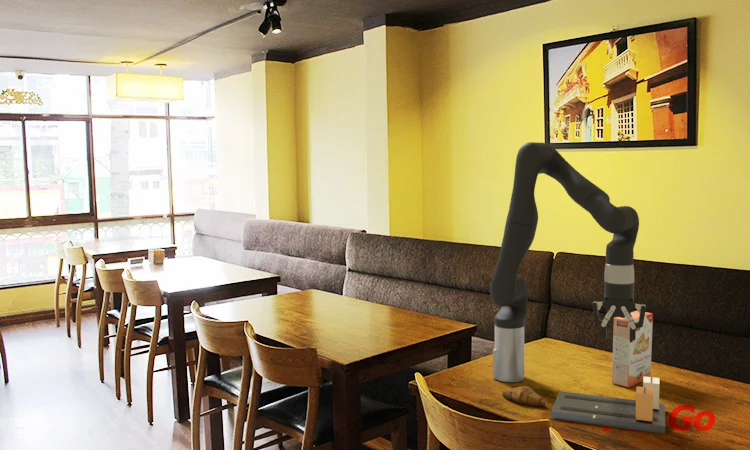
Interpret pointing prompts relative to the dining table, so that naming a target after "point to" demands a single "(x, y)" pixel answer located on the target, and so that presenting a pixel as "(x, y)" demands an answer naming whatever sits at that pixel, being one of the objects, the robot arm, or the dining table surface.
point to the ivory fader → (653, 383)
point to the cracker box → (631, 351)
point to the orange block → (644, 404)
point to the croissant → (524, 396)
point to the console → (605, 412)
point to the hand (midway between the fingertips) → (618, 340)
